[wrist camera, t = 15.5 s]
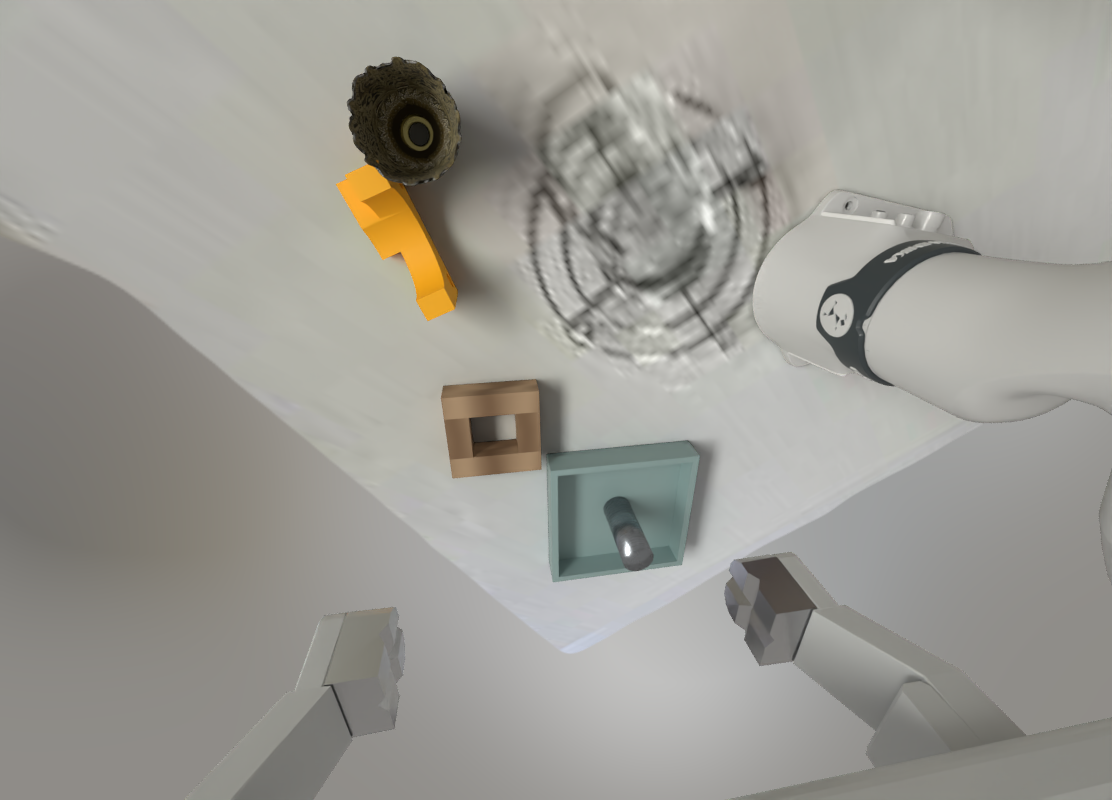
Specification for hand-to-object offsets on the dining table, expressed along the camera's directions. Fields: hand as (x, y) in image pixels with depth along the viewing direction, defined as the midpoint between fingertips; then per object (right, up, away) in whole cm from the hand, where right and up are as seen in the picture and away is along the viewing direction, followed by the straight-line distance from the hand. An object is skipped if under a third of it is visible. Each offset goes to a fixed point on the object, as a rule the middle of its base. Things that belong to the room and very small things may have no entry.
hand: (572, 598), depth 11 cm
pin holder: (-7, +2, +40) cm, 41 cm away
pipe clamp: (-14, +19, +30) cm, 39 cm away
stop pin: (+8, -9, +48) cm, 49 cm away
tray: (+7, -9, +48) cm, 49 cm away
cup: (-12, +27, +27) cm, 40 cm away
